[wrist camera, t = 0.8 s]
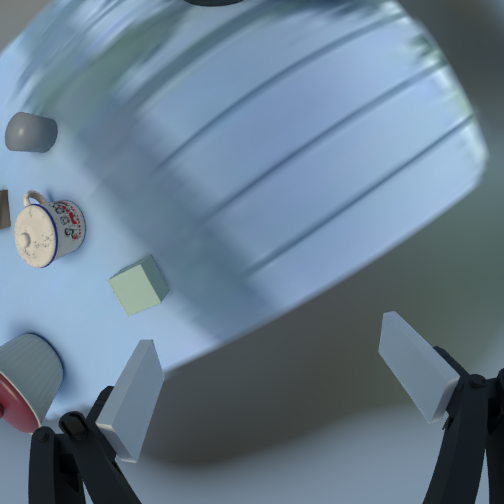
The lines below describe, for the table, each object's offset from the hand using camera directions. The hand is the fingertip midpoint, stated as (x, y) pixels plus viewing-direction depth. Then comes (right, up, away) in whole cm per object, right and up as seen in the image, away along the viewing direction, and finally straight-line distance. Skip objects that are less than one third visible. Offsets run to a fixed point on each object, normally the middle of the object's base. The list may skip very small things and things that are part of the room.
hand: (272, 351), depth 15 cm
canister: (-47, -17, +30) cm, 58 cm away
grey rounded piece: (-36, +25, +20) cm, 48 cm away
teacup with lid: (-32, +11, +23) cm, 41 cm away
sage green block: (-18, +1, +26) cm, 32 cm away
